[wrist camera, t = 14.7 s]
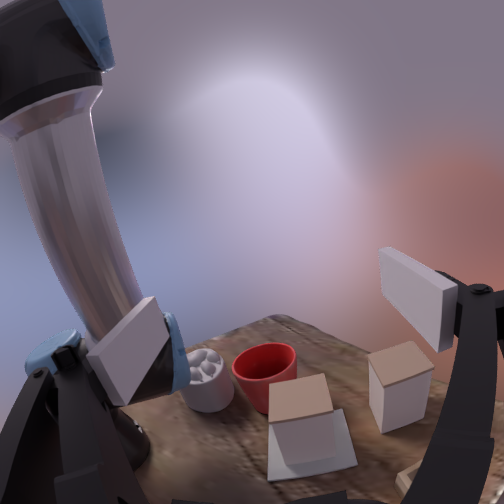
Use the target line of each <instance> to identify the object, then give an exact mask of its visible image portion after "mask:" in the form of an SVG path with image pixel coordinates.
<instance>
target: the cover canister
mask: <svg viewBox="0 0 504 504" xmlns="http://www.w3.org/2000/svg"><path fill="white" fill-rule="evenodd" d="M332 413H334V410H333V406H332V402H331V398H330V394H329V390H328V387H327V383H326V379H325V375H324V373H322V374H318V375H313V376H309V377H304V378H299V379H294V380H289V381H283V382H278V383H272V384H269V421H268V422H269V425H271V424H272V427H273V430H274V433H275V436H276V439H277V442H278V445H279V448H280V451H281V454H282V457H283V460H284V463H285V465H292V464H299V463H305V462H310V461H316V460H321V459H326V458H331V457H335V456H336V448H335V438H334V428H333V418H332Z"/></svg>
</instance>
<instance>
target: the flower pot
mask: <svg viewBox="0 0 504 504" xmlns="http://www.w3.org/2000/svg"><path fill="white" fill-rule="evenodd" d="M232 371H233V374H234V376H235V377H236V379H237V381H238V383H239V384H240V386H241V388H242V389H243V391H244V392H245V394H246V396H247V397H248V399H249V400H250V402H251V403H252V404H253V406H254V407H255V409H256V410H257V411H259V412H261V413H263V414H268V415H269V384H272V383H278V382H283V381H289V380H294V379H297V356H296V352H295V350H294V349H293V348H292V347H291V346H289V345H287V344H283V343H266V344H261V345H257V346H254V347H252V348H249V349H247V350H245V351H244V352H242V353H241V354H240V355H238V356H237V358H236V359H235V360H234V362H233V364H232Z"/></svg>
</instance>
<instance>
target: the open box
mask: <svg viewBox="0 0 504 504" xmlns="http://www.w3.org/2000/svg"><path fill="white" fill-rule="evenodd" d="M422 460H423V459H422ZM422 460H421V461H419V462H417V463H416V464H414V465H412V466H410V467H409V468H407V469H405V470H403V471H402V472H400V473H398V474H397V478H396V481H395V484H394V488H395V490H396V491H397V493H398V494H399V496H400V497H401V499H402V500H403V498H404V496H405V495H406V493H407V491H408V489H409V487H410V485H411V483H412V481H413V479H414V477H415V475H416V473H417V471H418V469H419V467H420V465H421V462H422Z"/></svg>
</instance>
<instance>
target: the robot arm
mask: <svg viewBox="0 0 504 504" xmlns="http://www.w3.org/2000/svg"><path fill="white" fill-rule="evenodd" d="M114 66H115V61H114V56H113V53H112V48H111V44H110V39H109V35H108V30H107V25H106V19H105V14H104V9H103V4H102V0H14V1H12V2H10V3H8V4H7V5H5V6H3V7H1V8H0V136H1V137H2V138H4V139H6V140H7V141H8V142H9V143H10V145H11V150H12V154H13V158H14V163H15V166H16V170H17V174H18V177H19V181H20V185H21V188H22V191H23V194H24V197H25V200H26V203H27V206H28V209H29V212H30V215H31V217H32V220H33V223H34V225H35V228H36V230H37V233H38V236H39V238H40V240H41V242H42V245H43V247H44V249H45V252H46V254H47V256H48V259H49V260H50V263H51V265H52V267H53V269H54V271H55V273H56V275H57V277H58V279H59V281H60V283H61V285H62V287H63V289H64V291H65V293H66V294H67V296H68V298H69V300H70V302H71V303H72V305H73V307H74V309H75V310H76V312H77V314H78V316H79V317H80V319H81V321H82V322H83V324H84V325H85V327H86V332H85V338H81V334H80V333H79V332H78V331H77V330H76V329H68V330H65V331H62V332H60V333H58V334H56V335H54V336H52V337H50V338H49V339H47V340H46V341H44V342H43V343H41V344H40V345H39V346H38V347H36V348H35V349H34V350H33V351H32V352H31V353H30V354H29V356H28V357H27V359H26V361H25V371H26V374H27V376H28V379H27V380H26V382H25V384H24V386H23V388H22V390H21V392H20V393H19V395H18V398H17V399H16V401H15V403H14V405H13V407H12V409H11V412H10V414H9V416H8V418H7V420H6V422H5V424H4V427H3V429H2V431H1V433H0V504H149V502H148V500H147V498H146V496H145V495H144V493H143V491H142V489H141V487H140V485H139V483H138V481H137V479H136V477H135V475H134V472H133V471H134V470H136V469H137V468H138V467H139V466H140V465H141V464H142V463H143V461H144V460H145V458H146V456H147V454H148V451H149V439H148V436H147V435H146V433H145V432H144V430H143V429H142V427H141V426H140V425H139V424H138V423H137V422H136V421H134V420H133V419H132V418H130V417H129V416H128V415H127V414H125V413H124V412H123V411H122V410H120V409H119V407H123V406H127V405H131V404H135V403H139V402H142V401H146V400H150V399H154V398H157V397H161V396H164V395H170V394H172V393H174V392H175V391H178V390H180V389H183V388H185V387H187V386H188V385H189V384H190V382H191V371H190V366H189V362H188V358H187V355H186V352H185V348H184V345H183V340H182V337H181V334H180V330H179V327H178V324H177V321H176V319H175V316H174V315H173V314H172V313H170V312H163V313H162V312H161V310H160V309H159V307H158V304H157V301H156V298H155V296H153V297H148V298H143V295H142V293H141V290H140V288H139V285H138V283H137V280H136V278H135V275H134V272H133V270H132V267H131V264H130V261H129V259H128V256H127V253H126V250H125V247H124V244H123V241H122V238H121V235H120V232H119V229H118V226H117V223H116V219H115V216H114V213H113V209H112V206H111V203H110V199H109V195H108V192H107V188H106V184H105V180H104V176H103V173H102V168H101V164H100V160H99V155H98V151H97V146H96V141H95V136H94V131H93V125H92V120H91V108H92V106H93V104H94V103H95V101H96V100H97V98H98V97H99V95H100V94H101V92H102V90H103V86H102V78H101V73H106V72H108V71H109V70H110V69H112V68H113V67H114ZM378 253H379V263H380V273H381V286H382V294H383V295H384V296H385V297H386V299H388V301H389V302H391V303H392V305H393V306H394V307H395V308H396V309H397V310H398V311H399V312H400V313H401V314H402V315H403V316H404V317H405V318H406V319H407V320H408V321H409V322H410V323H411V325H412V326H413V327H414V328H415V329H416V330H417V331H418V332H419V333H420V334H421V335H422V336H423V337H424V339H425V340H426V341H427V342H428V343H429V344H430V345H431V346H432V347H433V348H434V350H435V351H436V352H437V353H439V352H442V351H444V350H447V349H449V348H451V347H452V345H453V338H454V334H455V335H456V336H457V337H458V338H459V339H458V346H457V351H456V356H455V361H454V366H453V370H452V375H451V379H450V383H449V387H448V390H447V394H446V398H445V401H444V404H443V408H442V411H441V414H440V417H439V420H438V423H437V426H436V429H435V431H434V433H433V436H432V438H431V441H430V443H429V446H428V448H427V451H426V453H425V456H424V458H423V460H422V462H421V465H420V467H419V469H418V471H417V473H416V475H415V477H414V479H413V481H412V483H411V485H410V487H409V489H408V491H407V493H406V495H405V496H404V498H403V500H402V502H401V503H400V504H478V503H479V500H480V497H481V494H482V491H483V488H484V485H485V481H486V478H487V474H488V470H489V467H490V463H491V458H492V454H493V449H494V438H490V432H491V426H492V420H493V413H494V405H495V395H496V382H497V341H498V343H499V346H500V349H501V352H502V355H503V358H504V290H502V291H497V292H493V289H492V288H491V287H490V286H488V285H485V284H472V285H469V286H467V285H465V284H464V283H462V282H460V281H459V280H456V279H455V278H453V277H451V276H450V275H448V274H446V273H445V272H441V271H436V270H435V271H434V270H432V269H430V268H428V267H427V266H425V265H423V264H421V263H420V262H418V261H416V260H414V259H412V258H411V257H409V256H407V255H405V254H403V253H401V252H399V251H398V250H396V249H394V248H392V247H390V246H389V247H385V248H381V249H378ZM48 411H49V412H48ZM171 504H213V503H208V502H194V501H183V500H175V499H172V502H171ZM286 504H388V503H384V502H380V501H374V500H365V499H347V495H346V490H345V491H340V492H336V493H331V494H326V495H321V496H315V497H309V498H302V499H298V500H295V501H292V502H289V503H286Z"/></svg>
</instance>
